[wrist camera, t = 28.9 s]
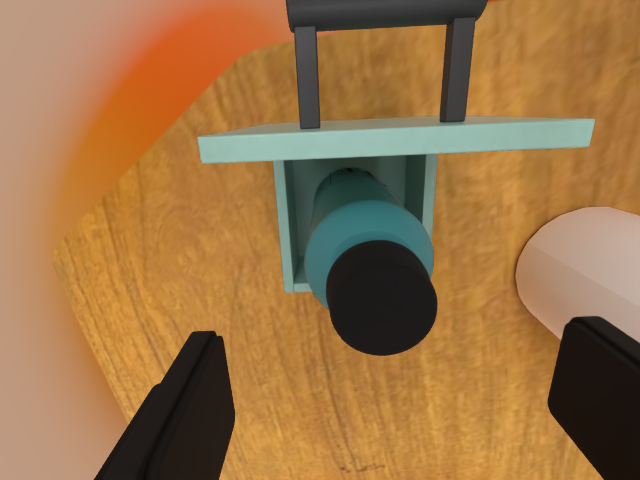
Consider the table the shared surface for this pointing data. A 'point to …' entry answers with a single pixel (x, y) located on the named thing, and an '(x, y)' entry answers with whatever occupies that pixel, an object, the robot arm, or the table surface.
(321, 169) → the cool box
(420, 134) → the lid
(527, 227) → the table surface
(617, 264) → the can
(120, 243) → the table surface
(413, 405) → the table surface
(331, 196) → the beverage bottle
